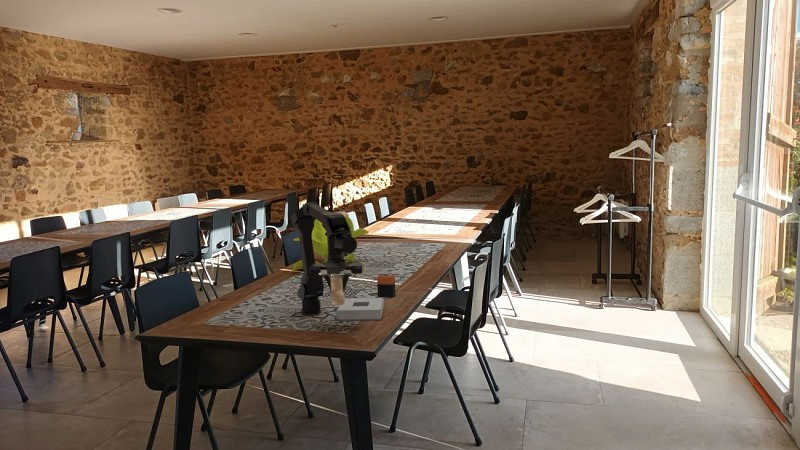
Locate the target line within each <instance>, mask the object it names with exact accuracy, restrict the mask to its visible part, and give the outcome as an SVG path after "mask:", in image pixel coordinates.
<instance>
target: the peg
mask: <svg viewBox="0 0 800 450" xmlns="http://www.w3.org/2000/svg"><path fill="white" fill-rule="evenodd" d="M343 275H344V274H331V291H330V295H331V305H332V306H340V305H343V304H344V302H345V299H346V298H345V297H346V296H345V292H343V280H344V277H343Z"/></svg>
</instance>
